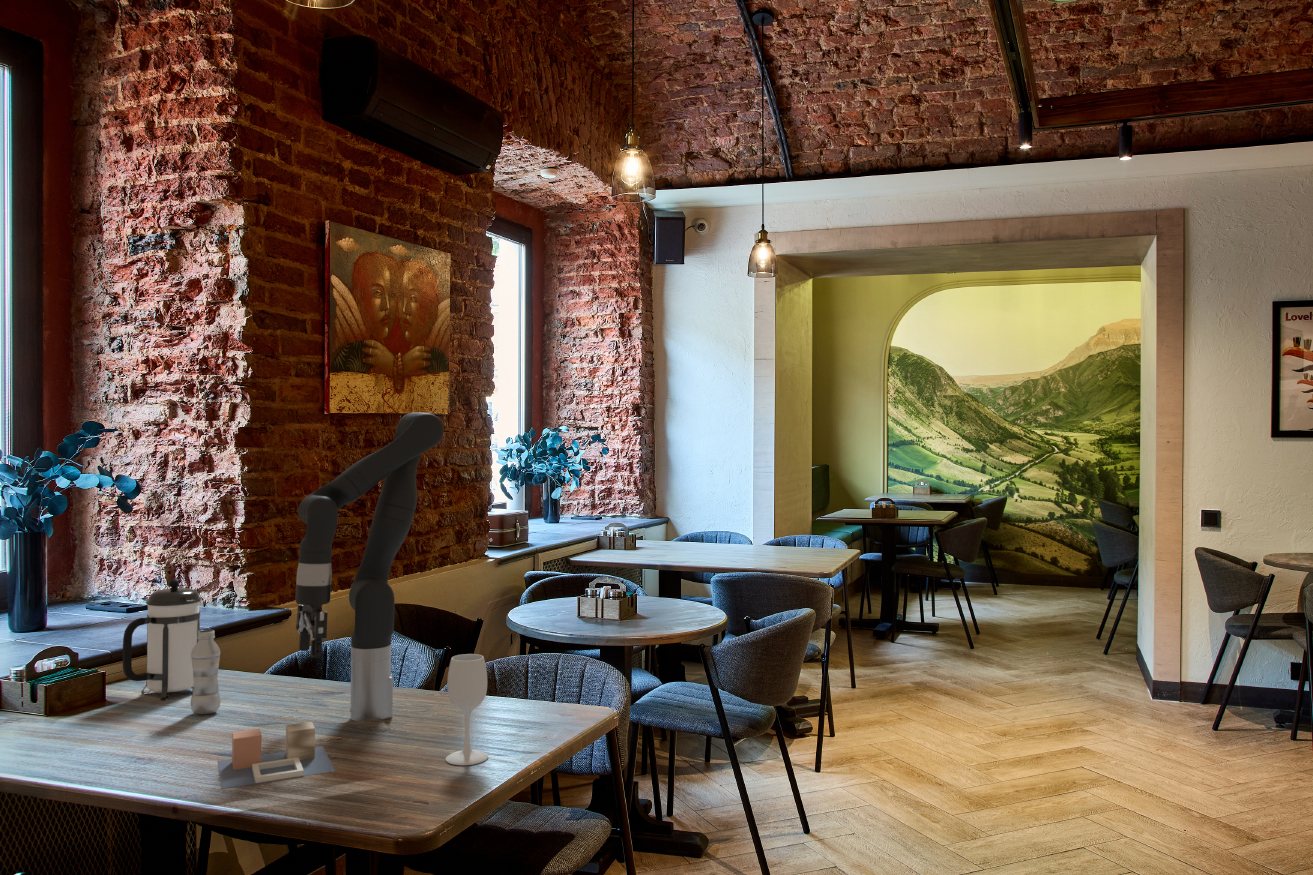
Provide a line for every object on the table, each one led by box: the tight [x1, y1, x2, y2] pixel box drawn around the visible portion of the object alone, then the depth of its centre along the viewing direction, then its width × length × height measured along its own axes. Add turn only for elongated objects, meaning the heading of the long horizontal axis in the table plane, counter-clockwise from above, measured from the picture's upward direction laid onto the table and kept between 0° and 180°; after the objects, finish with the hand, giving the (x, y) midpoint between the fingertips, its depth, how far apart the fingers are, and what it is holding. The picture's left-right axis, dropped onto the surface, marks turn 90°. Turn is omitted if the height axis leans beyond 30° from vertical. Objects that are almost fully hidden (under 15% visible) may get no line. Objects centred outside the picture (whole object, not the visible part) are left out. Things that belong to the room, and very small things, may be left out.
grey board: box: [217, 746, 336, 790], centre depth 179 cm, size 20×17×2 cm
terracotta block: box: [231, 728, 263, 770], centre depth 180 cm, size 5×5×6 cm
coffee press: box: [122, 579, 204, 701], centre depth 238 cm, size 17×16×30 cm
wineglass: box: [445, 653, 489, 766], centre depth 188 cm, size 9×9×21 cm
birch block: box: [285, 721, 316, 760], centre depth 184 cm, size 5×5×6 cm
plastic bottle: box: [189, 629, 222, 715], centre depth 220 cm, size 6×7×20 cm
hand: (309, 653), depth 207 cm, fingers open, 8 cm apart
